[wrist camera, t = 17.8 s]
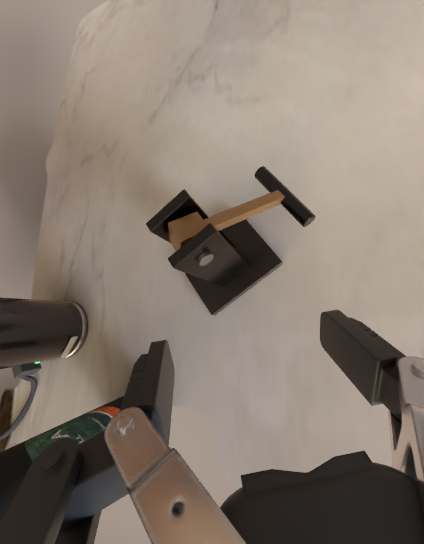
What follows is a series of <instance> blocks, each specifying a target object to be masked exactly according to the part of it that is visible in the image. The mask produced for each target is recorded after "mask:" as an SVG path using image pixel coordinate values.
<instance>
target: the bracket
mask: <svg viewBox="0 0 424 544" xmlns="http://www.w3.org/2000/svg"><path fill="white" fill-rule="evenodd" d="M194 212H198V214H199V215H200V216H201V218H202V219H203V220H204V219H207V218H209V216H208V215H207V214H206V213H205V212H204V210H203V209H202V208H201V207H200V206H199V205H198V204H197V203H196V202H195V200H194V199H193V198H192V197H191V196H190V195H189V194H188V193H187V191H186V190H185V189H184V190H182V191H181V192H180V193H179V194H178V195H177V196H176V197H175V198H174V199H173V200H171V201H170V202H169V203H168V204H167V205H166V206H165V207H164V208H163V209H162V210H160V211H159V212H158V213H157V214H156V215H155V216H154V217H153V218H152V219H151V220H149V221H148V222H147V223H146V225H147V226H148V228H149V230H150V231H151V232H152V233H154V234H156V235H158V236H159V237H161V238H163V239H165V240H166V241H168V242H170V240H169V229H168V222H171V221H173V220H176V219H179V218H181V217H184V216H187V215H189V214H192V213H194ZM170 243H171V242H170ZM168 260H169V262H170V263H171V265H172V267H173V268H175V269H177V270H180V271H183V272H185V274H186V276H187V277H188V279H189V280H190V282H191V283H192V285H193V286H194V288H195V290H196V291H197V293H198V294H199V296H200V297H201V299H202V301H203V302H204V304H205V305H206V307H207V308H208V310H209V312H210V313H211V315H216V314H217V313H218V312H220V311H221V310H222V309H223V308H225V307H226V306H227V305H229V304H230V303H231V302H233V301H234V300H235V299H237V298H238V297H239V296H241V295H242V294H243V293H245V292H246V291H247V290H249V289H250V288H251V287H253V286H254V285H255V284H257V283H258V282H259V281H261V280H262V279H263V278H265V277H266V276H267V275H269V274H270V273H271V272H273V271H274V270H275V269H277V268H278V267H279V266H280V265H282V261H281V260H280V259H279V258H278V256H277V255H276V254H275V253H274V252H273V251H272V249H271V248H270V247H269V246H268V245H267V244H266V242H265V241H264V240H263V239H262V238H261V237H260V235H259V234H258V233H257V232H256V231H255V230H254V228H253V227H252V226H251V225H250V224H249V223H248V221H247V220H246V219H245V220H243V221H240V222H238V223H236V224H233V225H231V226H229V227H226V228H224V229H222V230H219V231H218V230H217V229H216V228H215V227H214V226H213V225H212V224H211V223H209V224H208V225H207V226H205V227H204V228H203V229H202V230H201V231H200V232H198V233H197V234H196V235H195V236H194V237H193V238H191V239H190V240H189V241H188V242H187V243H186V244H184V245H183V246H182V247H181V248H180V249H178V250H177V251H176V252H175V253H174V254H173V255H171V256H170V257H169V258H168Z"/></svg>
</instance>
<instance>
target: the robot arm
mask: <svg viewBox="0 0 424 544" xmlns="http://www.w3.org/2000/svg"><path fill="white" fill-rule="evenodd" d="M86 333H87V318H86V315H85V312H84V310H83V308H82V307H81V306H80V305H79V304H77V303H75V302H71V301H64V302H61V301H46V300H30V299H12V298H0V369H3V368H9V367H12V370H13V374H14V378H19V377H21V378H22V379H24V380H27V381H30V382H31V393H30V396H29V398H28V400H27V402H26V404H25V406H24V408H23V409H22V411H21V412H20V414H19V416H18V417H17V419H16V420H15V422H14V423H13V424H12V426H11V427H10V428H9V429H8V430H7V431H6V432H4V433H3V434H2V435H0V441H1V440H2V439H4V438H5V437H6V436H8V435H9V434H10V433H11V432H12V431H13V430H14V429H15V428H16V427H17V425H18V424H19V423H20V421H21V420H22V418H23V417H24V415H25V413H26V412H27V410H28V409H29V407H30V405H31V402H32V400H33V397H34V394H35V391H36V388H37V381H36V378H34V377H32V376H29V375H32V374H35V373H36V372H37V371H38V370H40V369H41V365H40V362H43V361H48V360H54V359H62V358H68V357H71V356H72V355H74V354H75V353H76V352H77V351H78V350H79V349H80V348H81V346H82V344H83V342H84V340H85V337H86ZM320 341H321V344H322V347H323V348H324V350H325V351H326V352H327V353H328V354H329V356H330V357H331V358H332V359H333V360H334V362H335V363H336V364H337V365H338V366H339V368H340V369H341V370H342V371H343V372H344V373H345V375H346V376H347V377H348V378H349V379H350V381H351V382H352V383H353V384H354V385H355V386H356V388H357V389H358V390H359V391H360V392H361V394H362V395H363V396H364V397H365V398H366V399H367V401H368V402H369V403H370V404H371V405H372V406H373V405H378V404H384V405H385V406H386V407H387V408H388V409H389V411H388V419H389V430H390V440H391V451H392V467H389V466H386V465H382V464H378V463H372V461H371V460H370V458H369V457H368V455H367V454H366V452H365V451H361V452H356V453H351V454H346V455H341V456H336V457H333V458H332V459H330V460H328V461H327V462H325V463H323V464H322V465H320V466H319V467H317V468H315V469H314V470H312V471H310V472H308V473H301V472H292V471H283V470H274V469H270V470H265V471H260V472H255V473H250V474H245V475H241V480H242V488H240V489H238V490H237V491H235V492H234V493H233V494H232V495H230V496H229V497H228V499H227V500H226V501H225V502H224V503H223V504H222V506H221V507H220V508H219V507H218V505H217V504H216V502H215V501H214V500H213V498H212V497H211V496H210V494H209V493H208V492H207V490H206V489H205V488H204V486H203V485H202V484H201V482H200V481H199V479H198V478H197V477H196V475H195V474H194V473H193V471H192V470H191V469H190V467H189V466H188V465H187V464H186V462H185V461H184V459H183V458H182V457H181V455H180V454H179V453H178V452H177V450H175V449H174V448H172V449H170V448H169V446H168V445H169V435H170V423H171V411H172V399H173V387H174V365H173V361H172V357H171V353H170V349H169V345H168V342H167V340H163V341H157V342H152V343H151V345H150V349H149V353H148V354H144V355H141V356H140V357H139V359H138V360H137V361H136V362H135V364H134V367H133V371H132V374H131V377H130V382H129V383H128V386H127V389H126V393H125V396H124V399H123V402H122V405H121V408H120V411H119V413H117V414H116V415H115V416H114V417H113V418H112V419H111V420H110V422H109V423H108V425H107V427H106V429H105V431H103V432H102V433H100V434H99V435H97V436H95V437H93V438H91V439H89V440H87V441H85V442H83V443H81V444H77V443H76V441H75V440H73V439H71V438H65V439H61V440H58V441H56V442H54V443H52V444H51V445H49V446H48V447H47V448H45V449H44V450H43V451H42V452H41V453H40V454H39V455H38V456H37V457H36V459H35V460H34V461H33V463H32V464H31V466H30V468H29V470H28V471H27V473H26V475H25V477H24V479H23V481H22V483H21V485H20V487H19V488H18V490H17V492H16V494H15V496H14V498H13V500H12V502H11V503H10V505H9V507H8V509H7V511H6V513H5V515H4V517H3V519H2V520H1V522H0V544H94V540H95V536H96V532H97V528H98V523H99V519H100V515H101V510H102V509H104V508H105V507H107V506H109V505H110V504H112V503H114V502H115V501H117V500H119V499H120V498H122V497H124V496H125V495H127V494H130V497H131V499H132V501H133V503H134V506H135V508H136V510H137V512H138V515H139V517H140V519H141V521H142V523H143V526H144V528H145V530H146V532H147V534H148V537H149V539H150V541H151V543H152V544H424V359H423V358H419V357H412V356H409V357H406V356H405V355H404V354H402V353H401V352H400V351H399V350H397V349H396V348H395V347H393V346H392V345H391V344H389V343H388V342H387V341H386V340H384V339H383V338H382V337H380V336H378V334H376V333H375V332H374V331H373V330H372V331H371V329H370V328H369V327H367V326H366V325H365V324H363V323H362V322H360V321H357V320H355V319H353V318H348V317H347V316H346V315H344V314H343V313H342V312H341V311H339V310H333V311H327V312H322V313H321V320H320Z"/></svg>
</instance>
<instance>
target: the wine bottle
mask: <svg viewBox="0 0 424 544" xmlns="http://www.w3.org/2000/svg"><path fill="white" fill-rule="evenodd" d="M123 399H124V396H122V397H120V398H118V399H116V400H114V401H112V402H109V403H107V404H105V405H103V406H101V407H98V408H96V409H94V410H92V411H90V412H88V413H85V414H83V415H81V416H79V417H77V418H75V419H72V420H70V421H68V422H66V423H64V424H61V425H59V426H57V427H55V428H53V429H51V430H48V431H46V432H44V433H42V434H40V435H37V436H35V437H33V438H31V439H29V440H27V441H24V442H22V443H20V444H18V445H16V446H13V447H11V448H9V449H7V450H5V451H3V452H0V522H1V520H2V519H3V517H4V515H5V513H6V511H7V509H8V507H9V505H10V503H11V502H12V500H13V498H14V496H15V494H16V492H17V490H18V488H19V487H20V485H21V483H22V481H23V479H24V477H25V475H26V473H27V471H28V470H29V468H30V466H31V464H32V463H33V461H34V460H35V459H36V457H37V456H38V455H39V454H40V453H41V452H42V451H43V450H44V449H45V448H47V447H48V446H49V445H51V444H52V443H54V442H56V441H58V440H61V439H65V438H71V439H73V440H75V441H76V443H77V444H81V443H83V442H85V441H87V440H89V439H91V438H93V437H95V436H97V435H99V434H100V433H102V432H103V431H105V429H106V427H107V425H108V423H109V422H110V420H111V419H112V418H113V417H114V416H115V415H116V414H117V413H119V411H120V408H121V405H122V402H123Z"/></svg>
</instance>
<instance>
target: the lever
mask: <svg viewBox="0 0 424 544" xmlns="http://www.w3.org/2000/svg"><path fill="white" fill-rule="evenodd" d="M255 178H256V179H257V180H258V181H259V182H260V183H261V184H262V185H263V186H264V187H265V188H266V189H267V190H268V191H269V192H270V193H269V194H267V195H264V196H262V197H259V198H257V199H254V200H252V201H249V202H247V203H244V204H242V205H239V206H237V207H234V208H232V209H229V210H227V211H224V212H222V213H219V214H217V215H214V216H212V217H209V218H207V219H204V220H203V219H202V218H201V216H200V215H199V214H198V212H194V213H192V214H189V215H187V216H184V217H181V218H179V219H176V220H173V221H171V222H168V229H169V240H170V242H171V243H172V245H173V247H174V248H175V250H176V251H177V250H178V249H180V248H181V247H182V246H183V245H184V244H186V243H187V242H188V241H189V240H190V239H191V238H193V237H194V236H195V235H196V234H197V233H198V232H200V231H201V230H202V229H203V228H204V227H205V226H207V225H208V224H209V223H211V224H212V225H213V226H214V227H215V228H216V229H217V230H218V231H219V230H222V229H224V228H226V227H229V226H231V225H233V224H236V223H238V222H240V221H243V220H245V219H247V218H249V217H252V216H254V215H256V214H259V213H261V212H263V211H266V210H268V209H270V208H273V207H275V206H277V205H280V204H282V205H283V207H284V208H285V209H286V210H287V211H288V212H289V213H290V214H291V215H292V216H293V217H294V218H295V219H296V220H297V221H298V222H299V223H300V224H301V225H302V226H303V227H306V226H307V225H309V224H310V223H311V222H312V221H313V220H314V219H315V215H314V214H313V213H312V212H311V211H310V210H309V209H308V208H307V207H306V206H305V205H304V204H302V203H301V202H300V201H299V200H298V199H297V198H296V197H295V196H294V195H293V194H292V193H291V192H290V191H289V190H288V189H287V188H286V187H285V186H284V185H283V184H282V183H281V182H280V181H279V180H278V179H277V178H276V177H275V176H274V175H273V174H272V173H271V172H270V171H269V170H268V169H267V168H266V167H264V166H263V167H260V168H259V169H258V170H257V171H256V173H255Z"/></svg>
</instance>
